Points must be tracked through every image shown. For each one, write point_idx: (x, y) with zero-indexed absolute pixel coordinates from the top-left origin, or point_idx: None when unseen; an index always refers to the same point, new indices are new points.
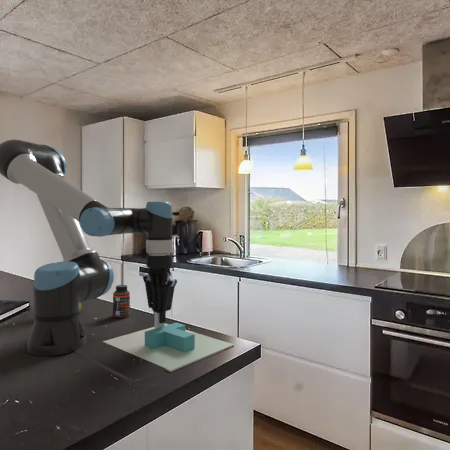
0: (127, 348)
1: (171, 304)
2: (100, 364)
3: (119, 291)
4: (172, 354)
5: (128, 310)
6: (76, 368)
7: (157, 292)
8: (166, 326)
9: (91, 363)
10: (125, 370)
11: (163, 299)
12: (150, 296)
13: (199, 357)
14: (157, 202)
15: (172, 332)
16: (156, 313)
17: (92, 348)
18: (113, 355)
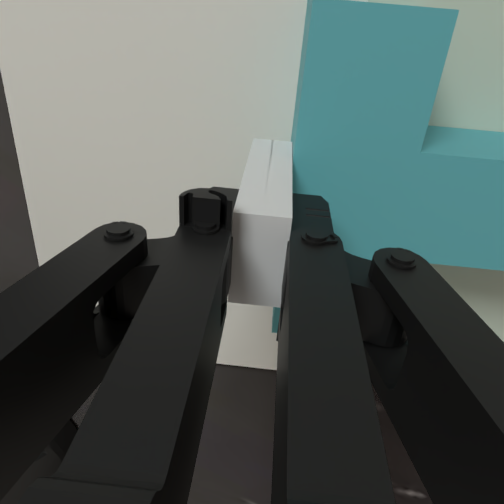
0: (233, 344)
1: (463, 304)
2: (272, 459)
3: None
4: (501, 285)
5: None
6: (235, 500)
7: (187, 466)
8: (318, 163)
9: (237, 466)
10: (395, 453)
11: (410, 458)
12: (71, 399)
13: None
14: None
15: (461, 244)
16: (263, 299)
17: (94, 391)
18: (236, 397)
